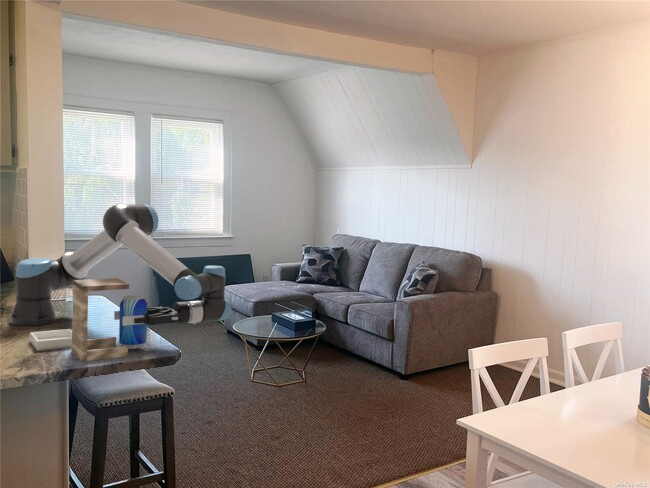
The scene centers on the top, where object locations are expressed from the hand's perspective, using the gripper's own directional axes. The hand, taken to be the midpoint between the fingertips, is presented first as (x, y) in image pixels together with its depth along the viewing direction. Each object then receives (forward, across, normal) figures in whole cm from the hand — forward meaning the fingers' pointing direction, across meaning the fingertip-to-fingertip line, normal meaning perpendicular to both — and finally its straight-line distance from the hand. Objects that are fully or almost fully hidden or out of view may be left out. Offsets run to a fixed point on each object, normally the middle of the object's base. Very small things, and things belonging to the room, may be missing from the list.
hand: (118, 318), depth 176 cm
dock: (+6, 0, -11) cm, 12 cm away
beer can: (-5, 0, -10) cm, 11 cm away
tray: (+15, +17, -11) cm, 25 cm away
